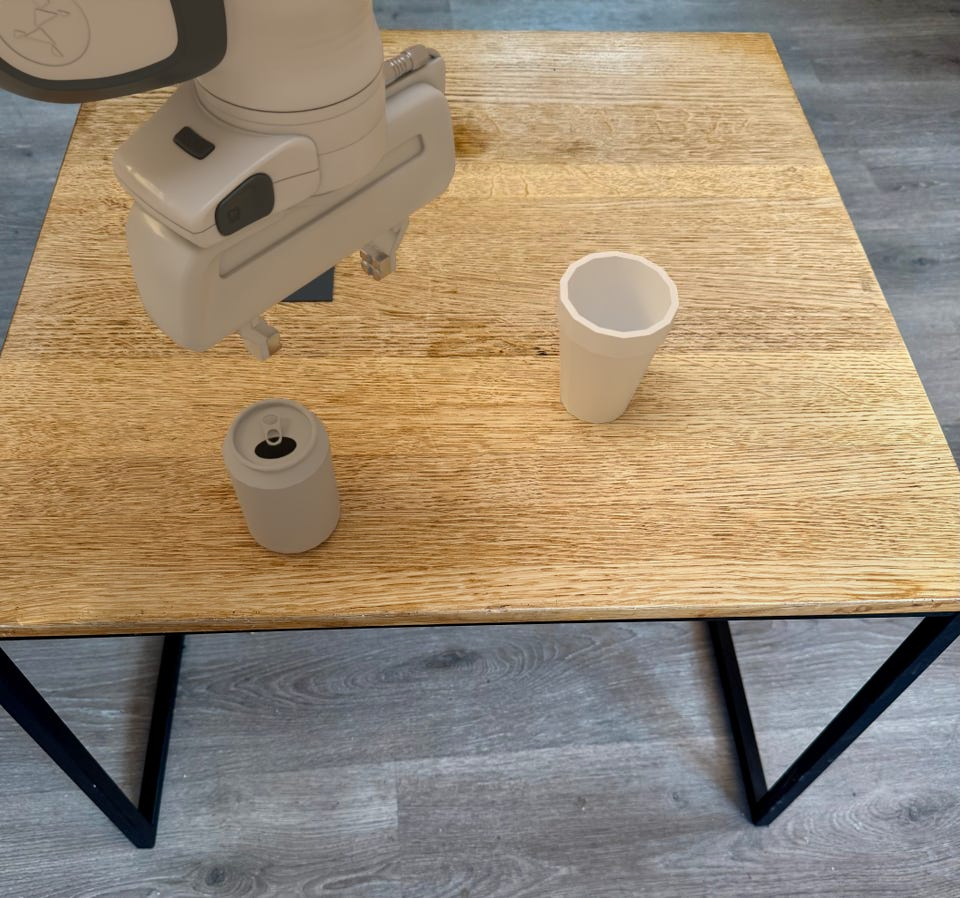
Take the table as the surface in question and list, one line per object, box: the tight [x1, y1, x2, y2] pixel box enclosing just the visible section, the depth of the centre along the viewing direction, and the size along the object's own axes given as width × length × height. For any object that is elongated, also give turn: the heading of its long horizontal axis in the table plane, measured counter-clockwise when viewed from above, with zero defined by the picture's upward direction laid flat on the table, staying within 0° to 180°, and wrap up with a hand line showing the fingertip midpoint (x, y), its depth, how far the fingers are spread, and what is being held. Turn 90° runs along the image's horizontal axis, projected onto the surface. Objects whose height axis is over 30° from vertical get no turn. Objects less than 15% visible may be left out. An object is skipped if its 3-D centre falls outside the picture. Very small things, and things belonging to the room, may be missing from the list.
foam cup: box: [556, 250, 680, 425], centre depth 74 cm, size 10×9×13 cm
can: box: [221, 397, 341, 555], centre depth 66 cm, size 8×8×12 cm
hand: (323, 309), depth 54 cm, fingers open, 8 cm apart
